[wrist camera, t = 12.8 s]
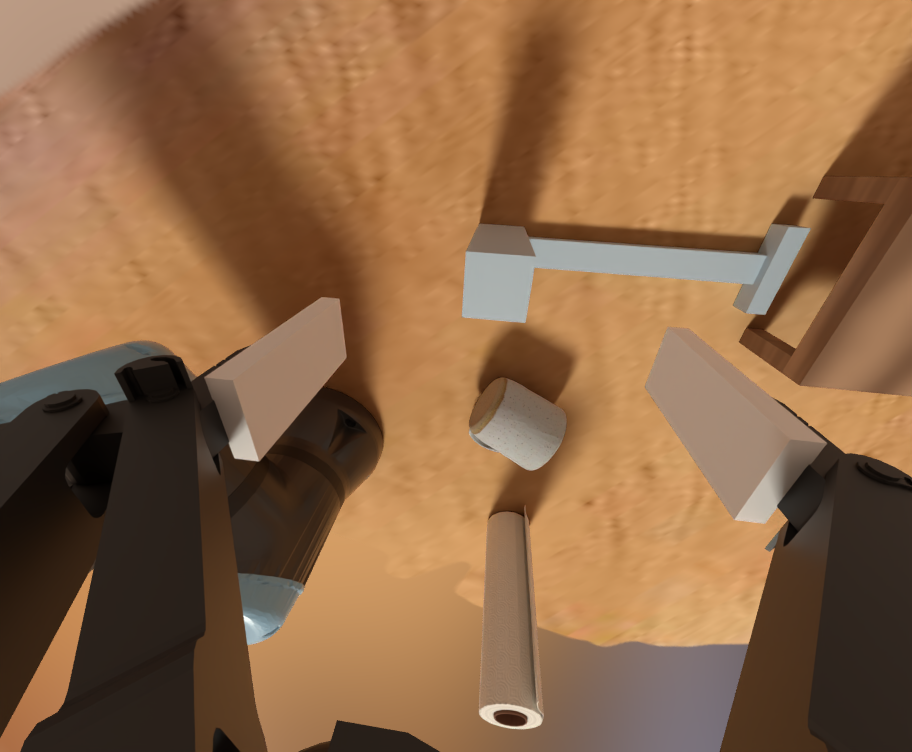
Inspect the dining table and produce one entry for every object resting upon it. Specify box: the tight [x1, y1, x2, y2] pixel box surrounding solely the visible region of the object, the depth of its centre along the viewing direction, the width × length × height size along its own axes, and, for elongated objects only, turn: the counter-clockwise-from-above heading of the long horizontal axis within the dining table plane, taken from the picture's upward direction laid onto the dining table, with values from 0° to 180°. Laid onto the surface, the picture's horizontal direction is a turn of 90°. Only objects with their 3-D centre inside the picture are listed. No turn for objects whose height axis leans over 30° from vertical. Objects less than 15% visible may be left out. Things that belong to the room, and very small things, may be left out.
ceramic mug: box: [469, 377, 567, 470], centre depth 38 cm, size 11×8×8 cm
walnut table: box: [739, 176, 912, 396], centre depth 26 cm, size 12×14×8 cm
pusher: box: [462, 224, 811, 323], centre depth 26 cm, size 26×7×13 cm, turn 87°
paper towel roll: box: [479, 505, 544, 729], centre depth 42 cm, size 7×6×21 cm
